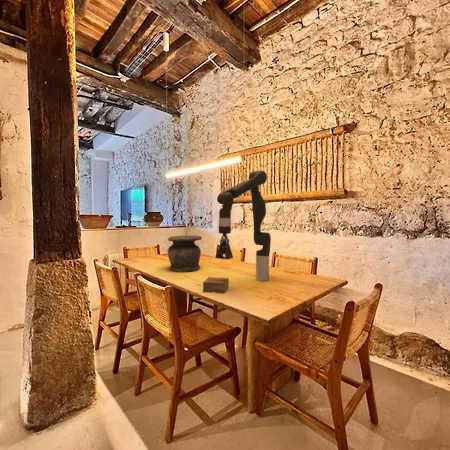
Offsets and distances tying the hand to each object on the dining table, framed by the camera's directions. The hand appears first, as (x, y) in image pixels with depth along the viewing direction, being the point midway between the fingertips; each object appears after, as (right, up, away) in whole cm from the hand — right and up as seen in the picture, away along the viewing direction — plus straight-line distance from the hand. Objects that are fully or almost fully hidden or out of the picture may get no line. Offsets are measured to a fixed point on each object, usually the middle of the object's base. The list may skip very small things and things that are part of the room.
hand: (224, 253), depth 160 cm
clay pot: (-33, -20, +58) cm, 69 cm away
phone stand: (0, -3, 0) cm, 3 cm away
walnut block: (-5, -23, +1) cm, 23 cm away
